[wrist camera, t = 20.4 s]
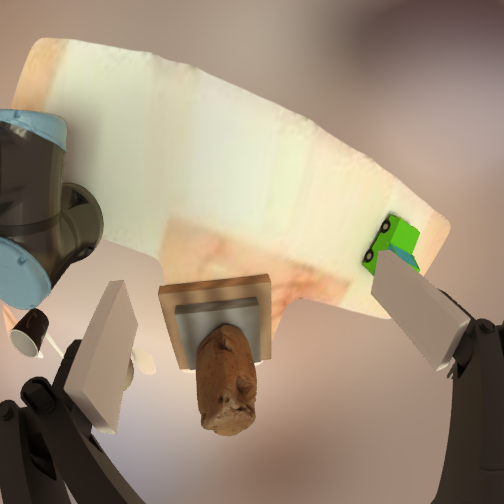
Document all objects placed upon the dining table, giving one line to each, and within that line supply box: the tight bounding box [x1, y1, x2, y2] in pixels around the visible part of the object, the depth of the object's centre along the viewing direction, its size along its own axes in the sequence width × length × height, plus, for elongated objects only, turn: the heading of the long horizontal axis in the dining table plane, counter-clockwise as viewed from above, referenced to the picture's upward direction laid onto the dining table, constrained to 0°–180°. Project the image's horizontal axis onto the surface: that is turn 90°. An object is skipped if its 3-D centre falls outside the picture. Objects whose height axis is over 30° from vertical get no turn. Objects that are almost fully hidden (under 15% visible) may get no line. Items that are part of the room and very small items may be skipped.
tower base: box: [158, 274, 271, 370], centre depth 57 cm, size 22×22×6 cm
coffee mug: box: [9, 308, 49, 358], centre depth 47 cm, size 12×9×10 cm
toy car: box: [363, 215, 420, 276], centre depth 54 cm, size 10×13×10 cm
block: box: [196, 325, 257, 436], centre depth 45 cm, size 11×8×20 cm
